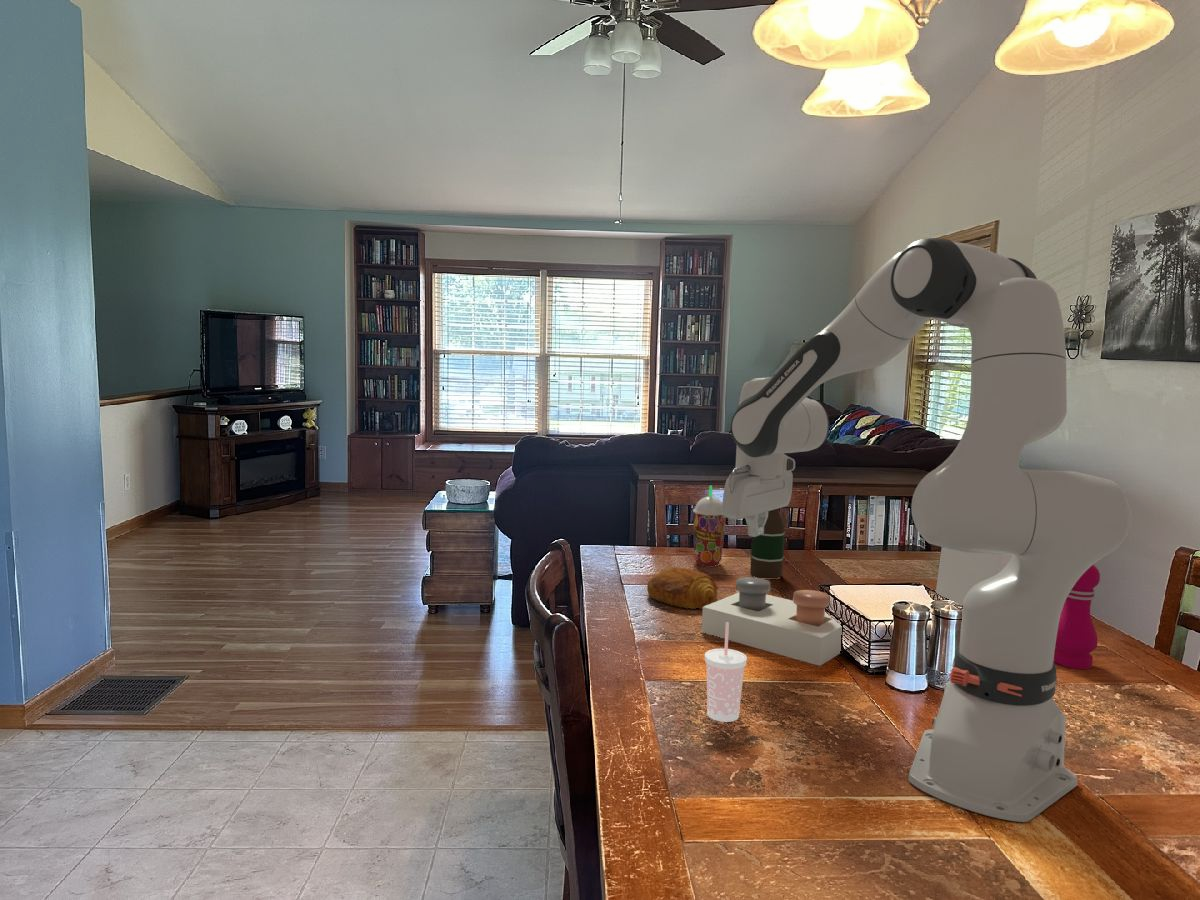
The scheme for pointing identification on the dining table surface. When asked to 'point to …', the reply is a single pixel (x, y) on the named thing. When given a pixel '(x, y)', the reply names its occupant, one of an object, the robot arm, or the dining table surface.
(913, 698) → the dining table surface
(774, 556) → the beer bottle
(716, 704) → the beverage cup
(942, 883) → the dining table surface
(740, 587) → the graphite button
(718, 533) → the smoothie
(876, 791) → the dining table surface
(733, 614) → the button panel
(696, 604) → the croissant
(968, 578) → the milk
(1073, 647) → the pepper mill
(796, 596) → the terracotta button
